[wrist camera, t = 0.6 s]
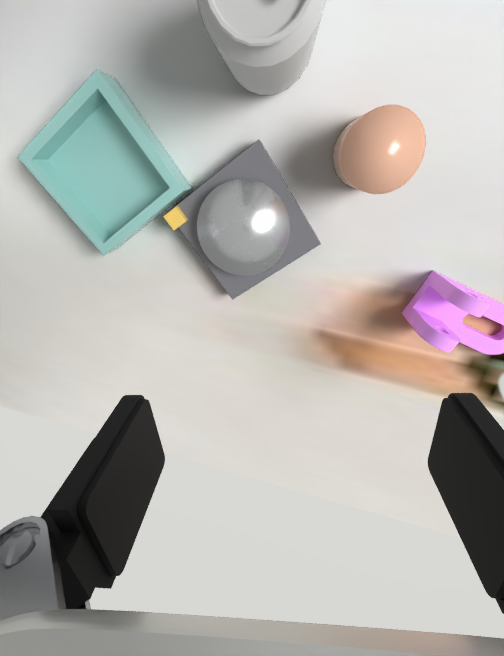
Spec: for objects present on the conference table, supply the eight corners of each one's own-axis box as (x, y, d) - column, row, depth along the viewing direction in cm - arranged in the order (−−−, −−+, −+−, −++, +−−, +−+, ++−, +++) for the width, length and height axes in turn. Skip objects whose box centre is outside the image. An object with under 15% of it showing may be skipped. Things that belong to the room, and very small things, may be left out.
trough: (115, 78, 29) (97, 69, 26) (192, 188, 33) (183, 190, 30) (40, 157, 33) (17, 156, 30) (117, 248, 36) (103, 255, 33)
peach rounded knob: (382, 99, 28) (406, 84, 23) (410, 162, 30) (438, 163, 25) (321, 144, 30) (330, 140, 25) (351, 201, 32) (365, 209, 27)
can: (247, -41, 25) (221, -192, 14) (331, 13, 26) (365, -90, 15) (210, 70, 28) (167, 14, 18) (285, 114, 29) (288, 86, 19)
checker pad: (256, 157, 29) (255, 157, 28) (306, 241, 32) (307, 243, 31) (181, 215, 32) (177, 217, 31) (234, 287, 35) (232, 291, 34)
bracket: (400, 312, 37) (424, 342, 31) (432, 269, 35) (464, 293, 28) (494, 355, 39) (535, 391, 32) (531, 317, 36) (582, 349, 30)
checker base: (260, 140, 30) (258, 138, 28) (318, 239, 34) (321, 245, 32) (171, 211, 34) (162, 215, 31) (232, 294, 38) (229, 303, 35)
